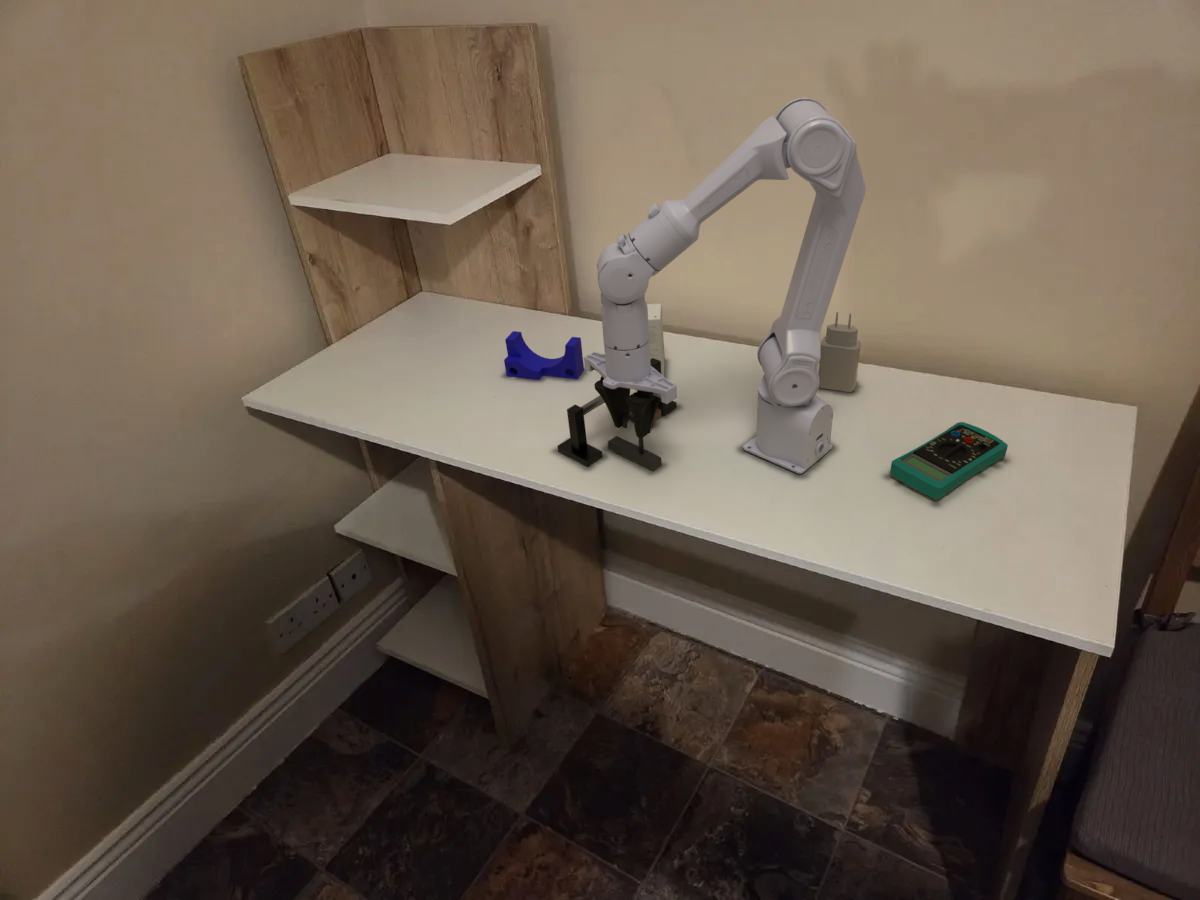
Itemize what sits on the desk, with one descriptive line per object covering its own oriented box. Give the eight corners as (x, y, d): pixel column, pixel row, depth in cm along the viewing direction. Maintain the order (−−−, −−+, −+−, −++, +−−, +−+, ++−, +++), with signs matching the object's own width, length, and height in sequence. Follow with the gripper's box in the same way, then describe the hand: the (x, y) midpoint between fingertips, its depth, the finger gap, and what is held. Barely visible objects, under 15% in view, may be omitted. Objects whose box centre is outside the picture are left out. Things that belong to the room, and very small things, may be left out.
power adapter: (852, 392, 120) (861, 319, 113) (816, 387, 122) (822, 315, 115) (856, 382, 122) (865, 310, 115) (820, 377, 124) (827, 305, 118)
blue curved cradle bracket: (506, 376, 133) (501, 343, 129) (517, 363, 136) (512, 331, 133) (574, 383, 129) (570, 350, 126) (584, 370, 133) (580, 337, 129)
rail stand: (677, 407, 121) (675, 363, 117) (587, 467, 111) (582, 421, 106) (647, 395, 125) (644, 351, 120) (557, 451, 114) (551, 406, 110)
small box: (665, 361, 133) (662, 302, 127) (664, 378, 128) (661, 318, 122) (616, 362, 134) (612, 304, 128) (614, 379, 129) (609, 320, 123)
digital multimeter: (1008, 457, 105) (1013, 438, 103) (935, 504, 98) (939, 485, 97) (958, 433, 110) (962, 415, 108) (886, 477, 104) (889, 458, 102)
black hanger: (661, 465, 110) (660, 424, 106) (653, 471, 108) (651, 430, 105) (617, 443, 115) (613, 404, 111) (608, 449, 114) (604, 409, 110)
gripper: (563, 336, 103) (574, 424, 111) (648, 370, 94) (653, 463, 102) (602, 316, 107) (609, 402, 115) (686, 346, 98) (688, 438, 106)
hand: (632, 429), depth 109 cm, fingers closed on black hanger, 3 cm apart
